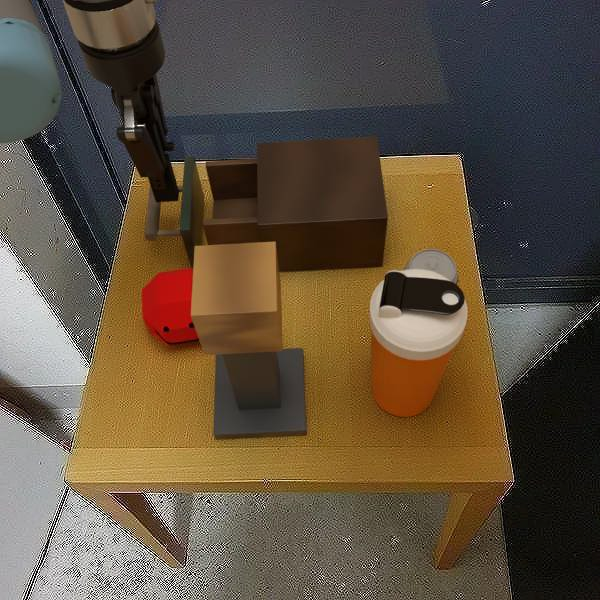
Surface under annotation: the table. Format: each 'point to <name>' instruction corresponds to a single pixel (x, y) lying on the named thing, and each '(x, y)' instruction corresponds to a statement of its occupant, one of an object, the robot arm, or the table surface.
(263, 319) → the oak block
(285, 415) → the stand
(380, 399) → the shaker bottle
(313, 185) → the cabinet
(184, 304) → the red faceted polyhedron
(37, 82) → the robot arm
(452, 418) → the table surface
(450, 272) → the beverage can
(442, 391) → the table surface
